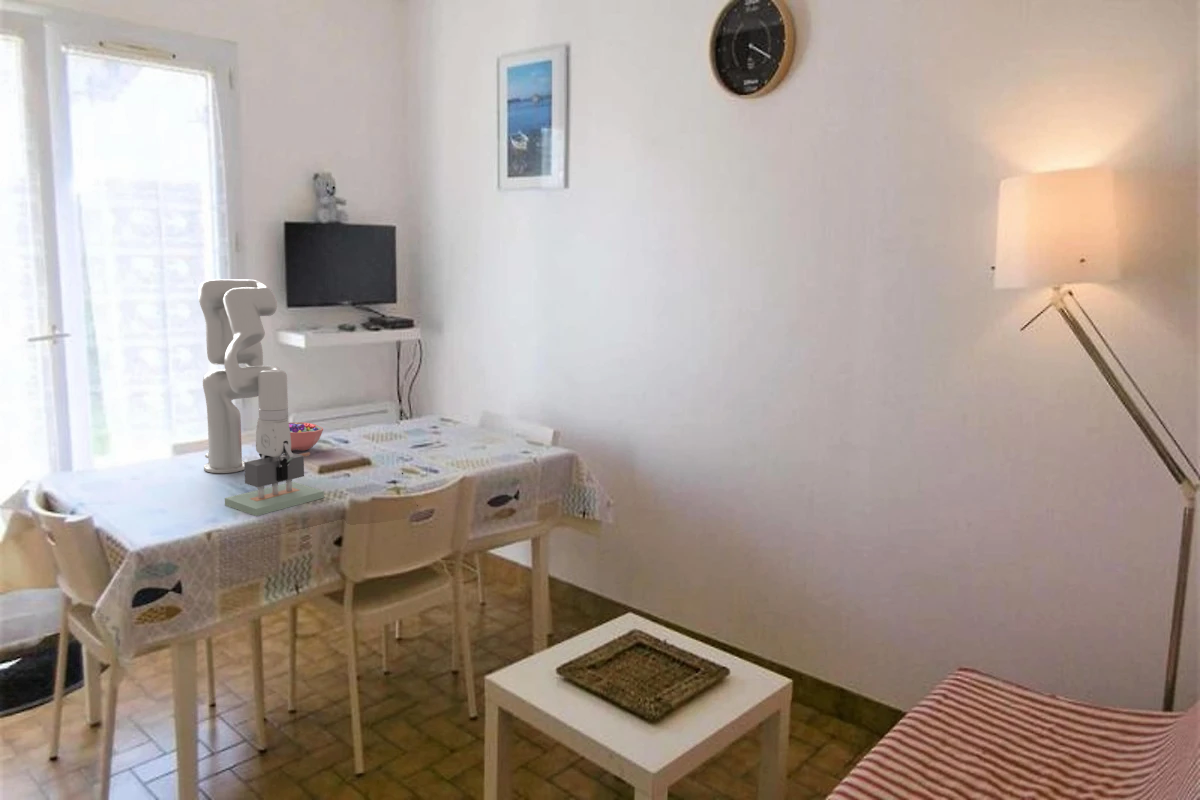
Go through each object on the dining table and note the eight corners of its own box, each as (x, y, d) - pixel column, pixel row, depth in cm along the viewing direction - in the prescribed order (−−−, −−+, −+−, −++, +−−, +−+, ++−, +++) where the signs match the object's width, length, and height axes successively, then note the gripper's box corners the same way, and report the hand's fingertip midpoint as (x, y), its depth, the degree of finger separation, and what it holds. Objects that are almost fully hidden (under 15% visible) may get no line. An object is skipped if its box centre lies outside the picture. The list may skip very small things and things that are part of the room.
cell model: (313, 458, 285) (313, 425, 283) (254, 455, 285) (253, 422, 283) (330, 446, 302) (329, 415, 300) (274, 443, 302) (273, 412, 300)
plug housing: (245, 483, 233) (244, 462, 232) (303, 470, 249) (302, 450, 248) (257, 487, 230) (256, 465, 229) (315, 473, 246) (315, 453, 245)
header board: (224, 505, 234) (224, 482, 233) (292, 488, 252) (292, 466, 251) (256, 516, 226) (255, 492, 225) (323, 497, 244) (323, 475, 243)
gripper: (242, 412, 236) (244, 475, 239) (281, 421, 227) (282, 486, 230) (266, 408, 242) (268, 470, 245) (304, 417, 233) (306, 481, 236)
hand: (275, 477), depth 238 cm, fingers closed on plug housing, 5 cm apart
